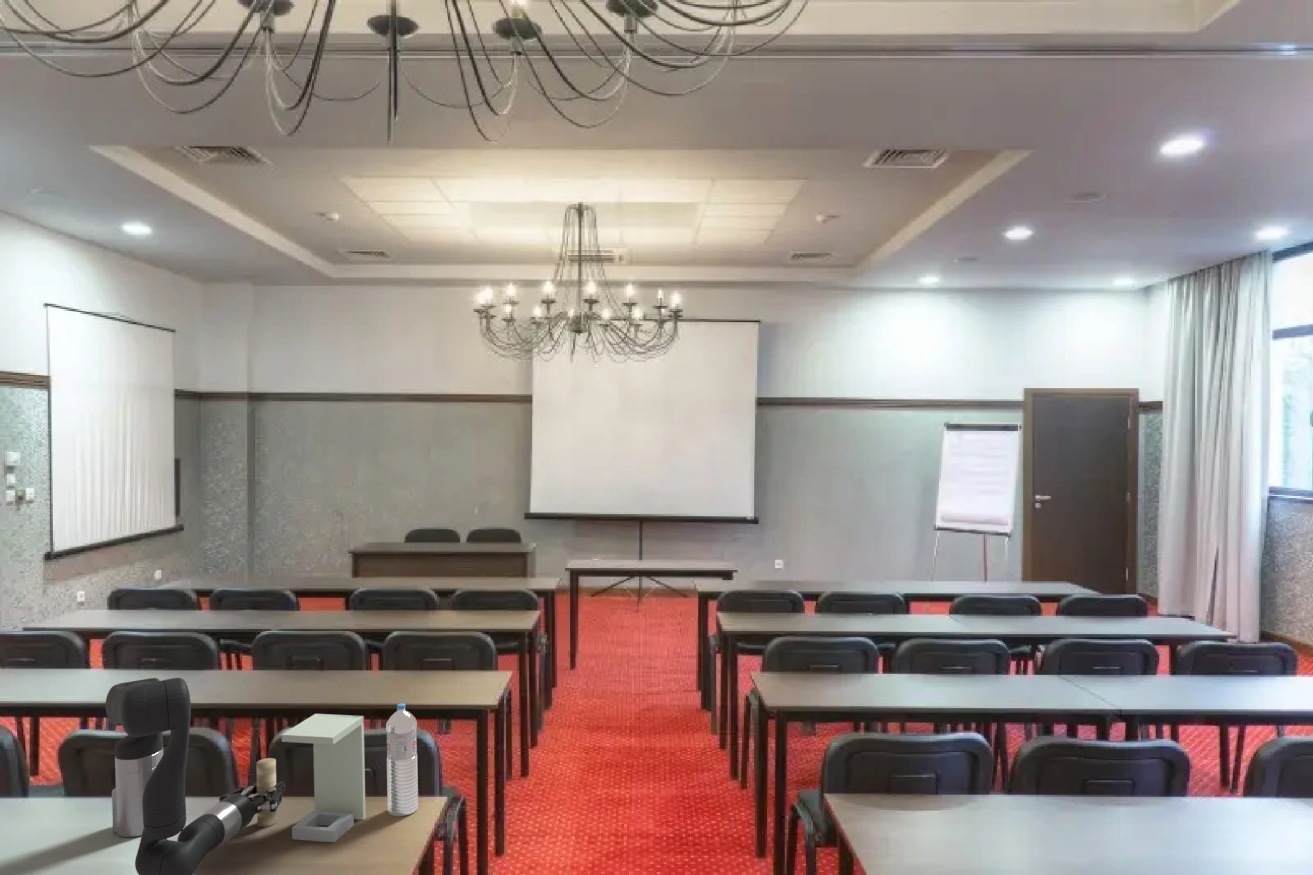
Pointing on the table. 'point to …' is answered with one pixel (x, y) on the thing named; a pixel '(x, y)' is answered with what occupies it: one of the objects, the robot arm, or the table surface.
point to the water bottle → (402, 763)
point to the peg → (266, 782)
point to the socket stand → (332, 774)
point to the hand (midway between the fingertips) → (273, 785)
